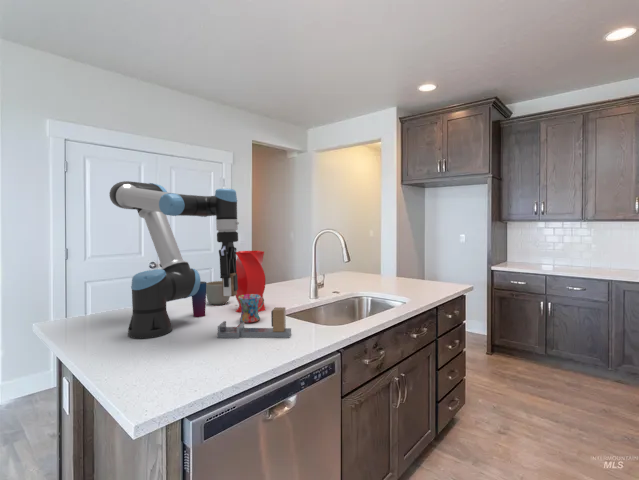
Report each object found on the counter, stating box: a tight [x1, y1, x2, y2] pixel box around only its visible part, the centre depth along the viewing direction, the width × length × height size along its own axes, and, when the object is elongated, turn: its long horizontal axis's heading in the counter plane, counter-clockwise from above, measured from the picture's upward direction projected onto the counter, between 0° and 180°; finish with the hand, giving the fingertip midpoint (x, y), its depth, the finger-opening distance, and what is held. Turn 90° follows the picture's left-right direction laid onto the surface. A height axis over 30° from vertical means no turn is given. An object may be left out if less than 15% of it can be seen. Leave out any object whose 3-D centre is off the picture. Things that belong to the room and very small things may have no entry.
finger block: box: [221, 273, 238, 297], centre depth 130 cm, size 5×4×8 cm
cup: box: [191, 280, 208, 318], centre depth 159 cm, size 7×7×15 cm
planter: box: [206, 280, 231, 306], centre depth 183 cm, size 12×12×11 cm
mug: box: [238, 294, 265, 324], centre depth 151 cm, size 12×9×11 cm
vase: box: [234, 250, 266, 313], centre depth 169 cm, size 15×14×28 cm
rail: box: [216, 306, 292, 339], centre depth 130 cm, size 26×7×10 cm, turn 87°
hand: (229, 294), depth 130 cm, fingers closed on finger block, 4 cm apart
